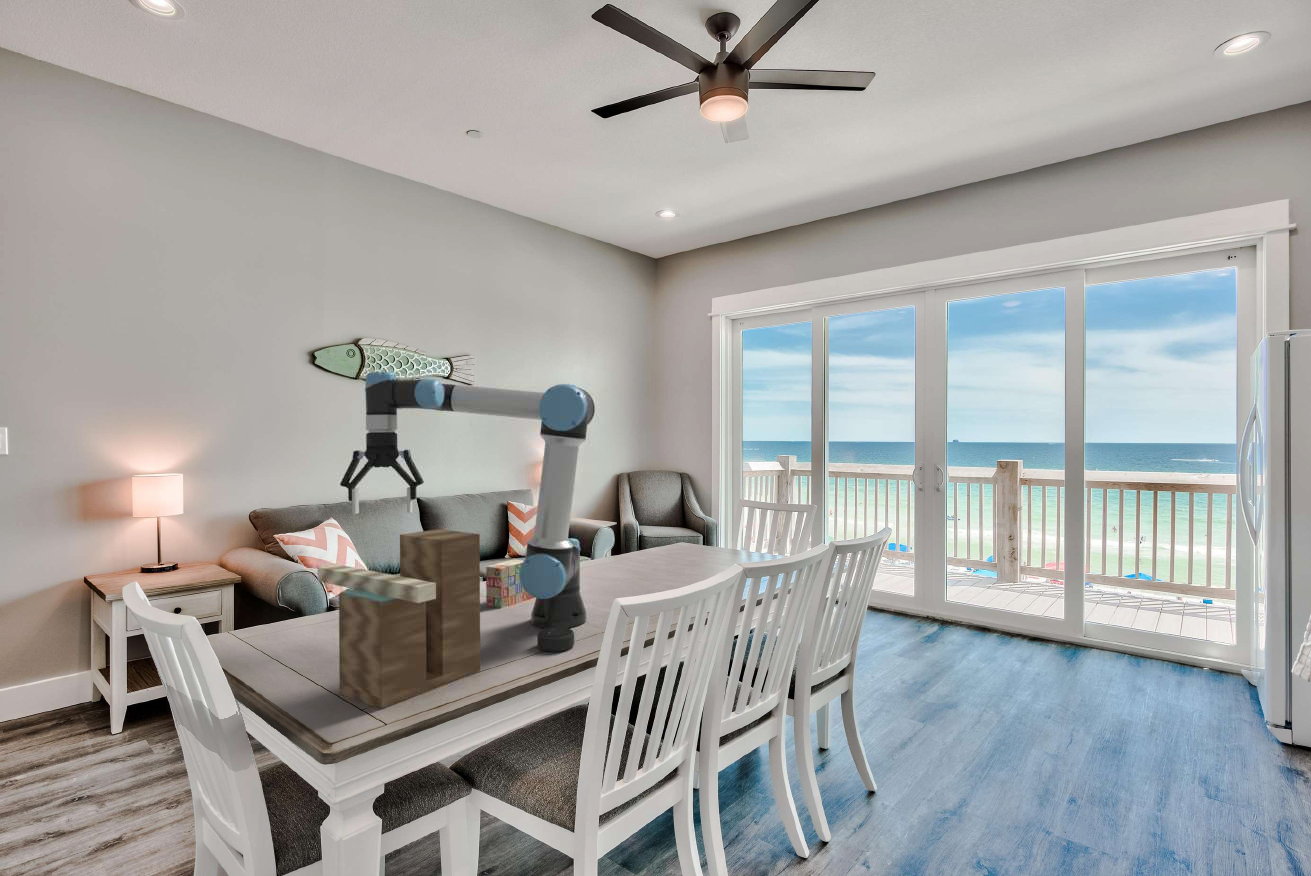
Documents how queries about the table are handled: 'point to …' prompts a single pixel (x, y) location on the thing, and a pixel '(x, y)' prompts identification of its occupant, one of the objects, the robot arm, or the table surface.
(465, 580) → the oak stand
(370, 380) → the robot arm
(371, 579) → the birch bar
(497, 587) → the stack of blocks
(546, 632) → the smart speaker
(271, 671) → the table surface
